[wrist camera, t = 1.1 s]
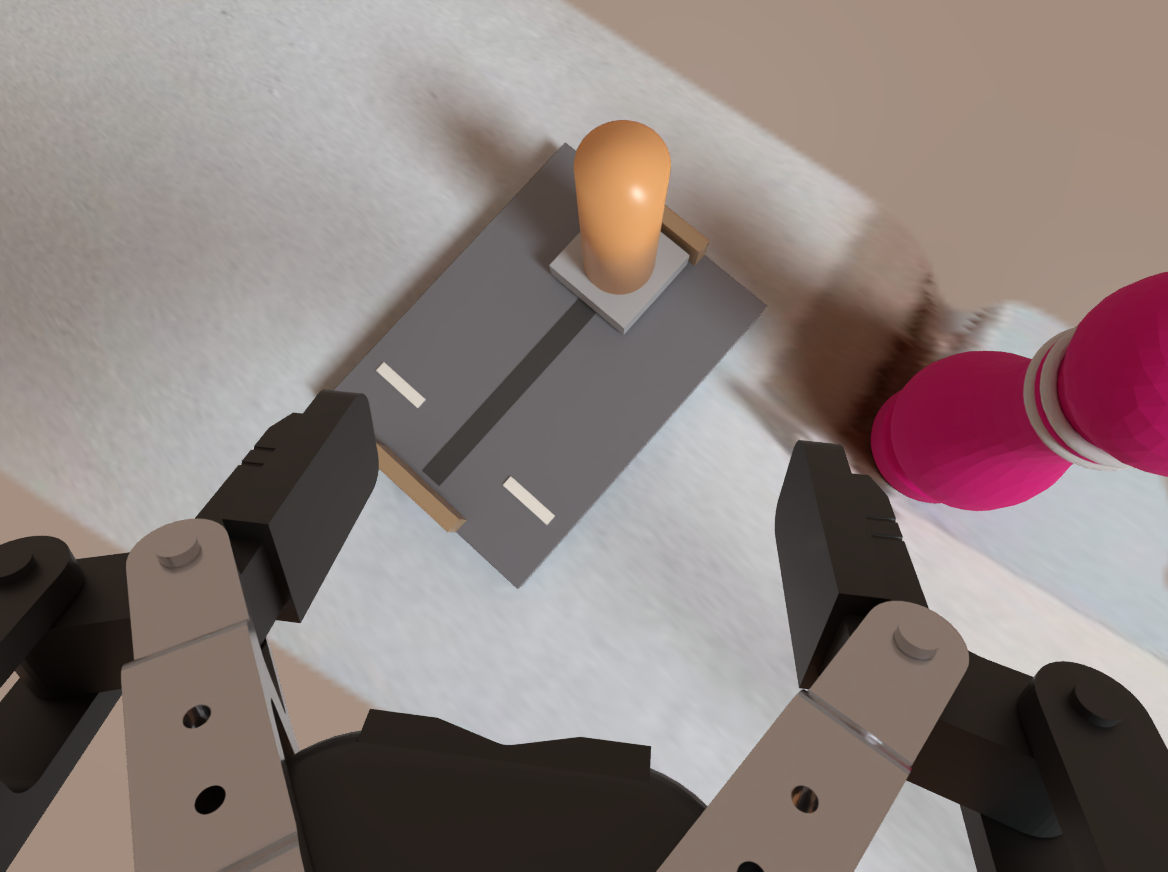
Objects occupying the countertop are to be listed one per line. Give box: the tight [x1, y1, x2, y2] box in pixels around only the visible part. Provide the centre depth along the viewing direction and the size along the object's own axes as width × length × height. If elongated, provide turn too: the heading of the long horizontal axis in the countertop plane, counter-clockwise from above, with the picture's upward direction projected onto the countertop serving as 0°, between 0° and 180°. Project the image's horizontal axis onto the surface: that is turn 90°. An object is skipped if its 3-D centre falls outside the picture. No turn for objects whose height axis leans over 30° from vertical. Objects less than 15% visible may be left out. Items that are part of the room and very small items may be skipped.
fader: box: [549, 120, 690, 335], centre depth 30 cm, size 5×5×10 cm
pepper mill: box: [871, 272, 1168, 511], centre depth 25 cm, size 7×7×20 cm
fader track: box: [334, 143, 767, 589], centre depth 35 cm, size 14×19×3 cm
